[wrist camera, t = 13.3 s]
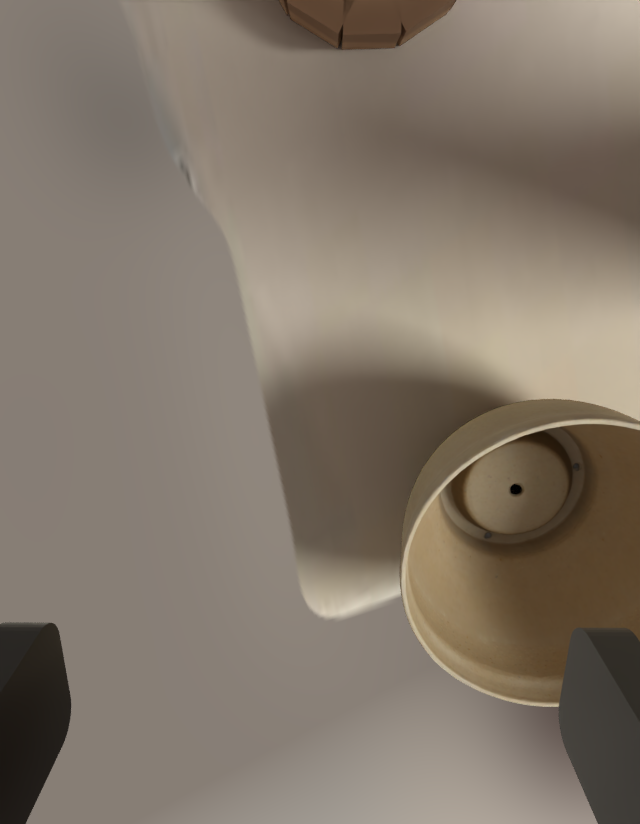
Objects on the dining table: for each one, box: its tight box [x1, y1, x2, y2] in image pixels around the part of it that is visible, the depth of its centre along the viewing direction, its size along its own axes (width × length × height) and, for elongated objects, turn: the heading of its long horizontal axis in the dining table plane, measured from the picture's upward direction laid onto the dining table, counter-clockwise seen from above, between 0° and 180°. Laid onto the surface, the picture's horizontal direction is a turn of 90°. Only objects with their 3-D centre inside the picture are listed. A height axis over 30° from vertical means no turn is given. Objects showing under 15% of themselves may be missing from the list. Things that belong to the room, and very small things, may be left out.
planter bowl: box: [400, 399, 640, 707], centre depth 34 cm, size 16×16×11 cm
